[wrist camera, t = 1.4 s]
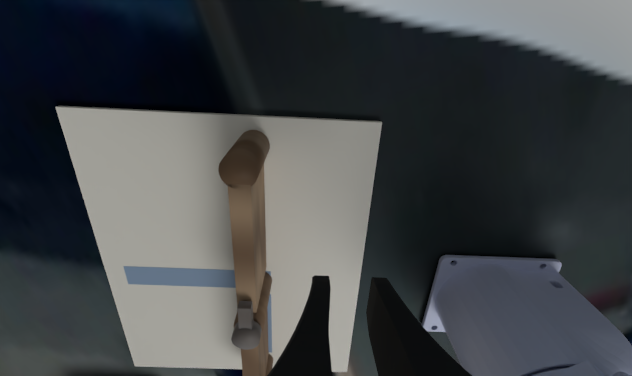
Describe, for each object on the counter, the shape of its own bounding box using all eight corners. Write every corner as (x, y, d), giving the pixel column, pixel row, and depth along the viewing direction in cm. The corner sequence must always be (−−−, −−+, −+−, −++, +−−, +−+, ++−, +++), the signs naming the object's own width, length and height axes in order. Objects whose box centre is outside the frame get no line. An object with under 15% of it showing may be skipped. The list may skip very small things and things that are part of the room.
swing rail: (272, 290, 25) (261, 350, 20) (247, 289, 25) (230, 349, 20) (269, 130, 19) (254, 160, 14) (237, 129, 19) (211, 157, 14)
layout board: (380, 121, 20) (382, 122, 19) (346, 368, 30) (346, 372, 29) (60, 105, 19) (54, 106, 19) (137, 362, 29) (134, 366, 29)
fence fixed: (272, 270, 24) (262, 318, 20) (273, 366, 29) (266, 421, 25) (246, 269, 24) (232, 317, 20) (252, 365, 29) (241, 420, 25)
